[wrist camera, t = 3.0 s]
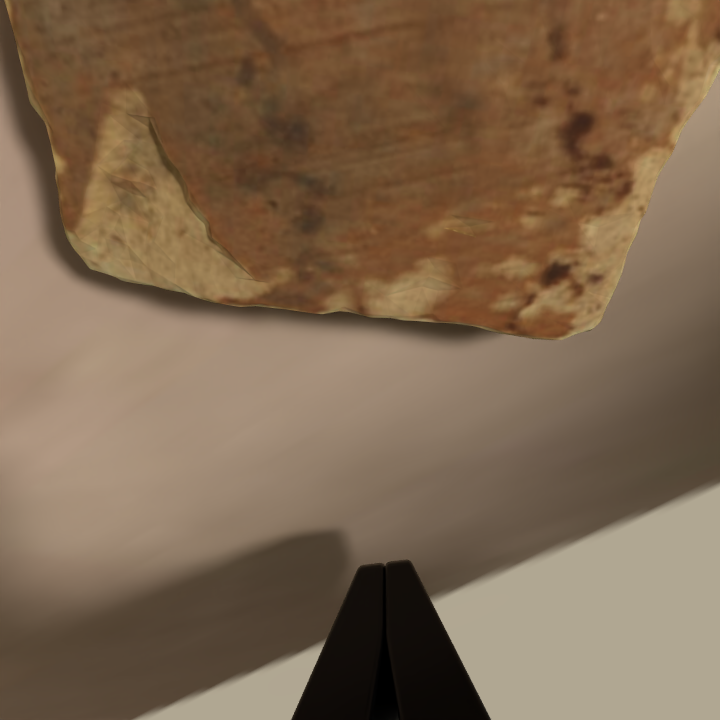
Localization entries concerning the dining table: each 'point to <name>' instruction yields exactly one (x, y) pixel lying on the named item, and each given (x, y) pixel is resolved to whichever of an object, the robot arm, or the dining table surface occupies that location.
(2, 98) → the dining table surface
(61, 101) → the shard
